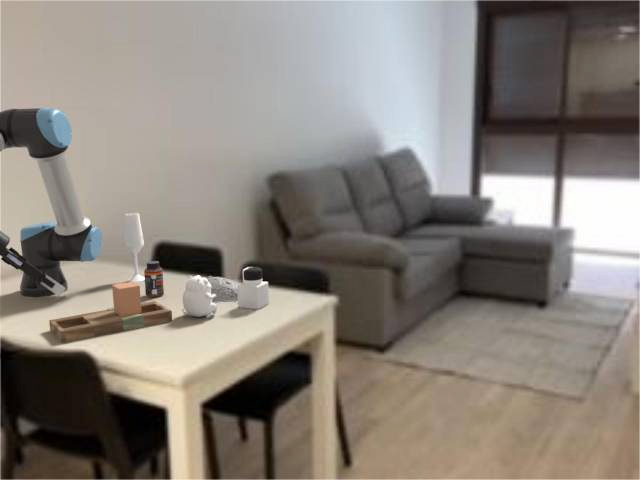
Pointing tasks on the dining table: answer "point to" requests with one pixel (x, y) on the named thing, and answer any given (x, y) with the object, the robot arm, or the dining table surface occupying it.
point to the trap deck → (107, 322)
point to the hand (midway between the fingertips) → (61, 291)
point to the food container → (223, 289)
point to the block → (126, 298)
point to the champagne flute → (134, 241)
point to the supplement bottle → (153, 279)
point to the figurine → (198, 297)
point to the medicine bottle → (253, 289)
